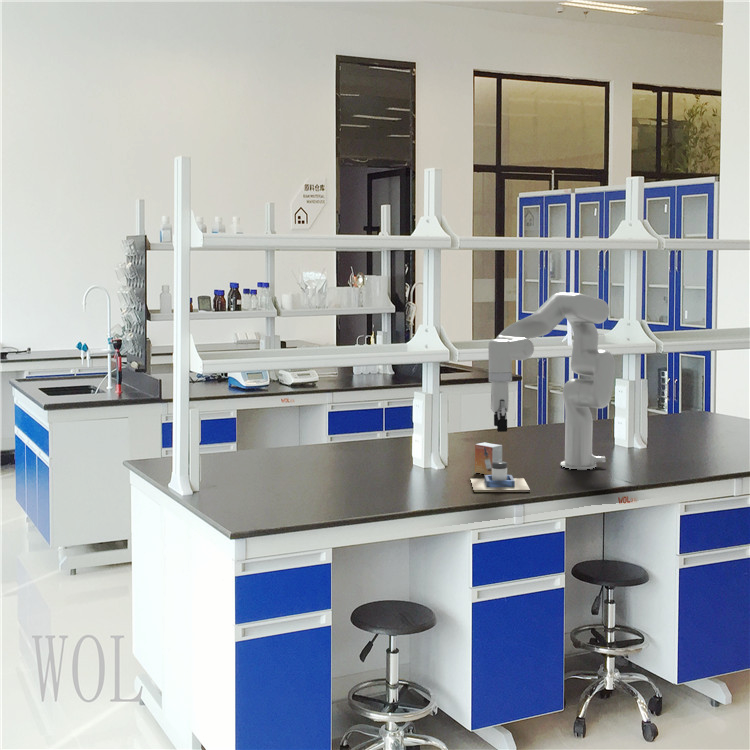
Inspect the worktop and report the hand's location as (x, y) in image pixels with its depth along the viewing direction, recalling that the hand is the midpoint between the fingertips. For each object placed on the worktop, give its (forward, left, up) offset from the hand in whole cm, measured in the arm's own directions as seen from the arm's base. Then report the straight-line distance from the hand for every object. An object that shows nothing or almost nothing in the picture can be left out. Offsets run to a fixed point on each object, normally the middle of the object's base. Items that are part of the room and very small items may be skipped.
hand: (500, 428), depth 324 cm
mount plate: (+1, +3, -19) cm, 19 cm away
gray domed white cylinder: (+1, +3, -18) cm, 18 cm away
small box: (+3, -16, -19) cm, 25 cm away
